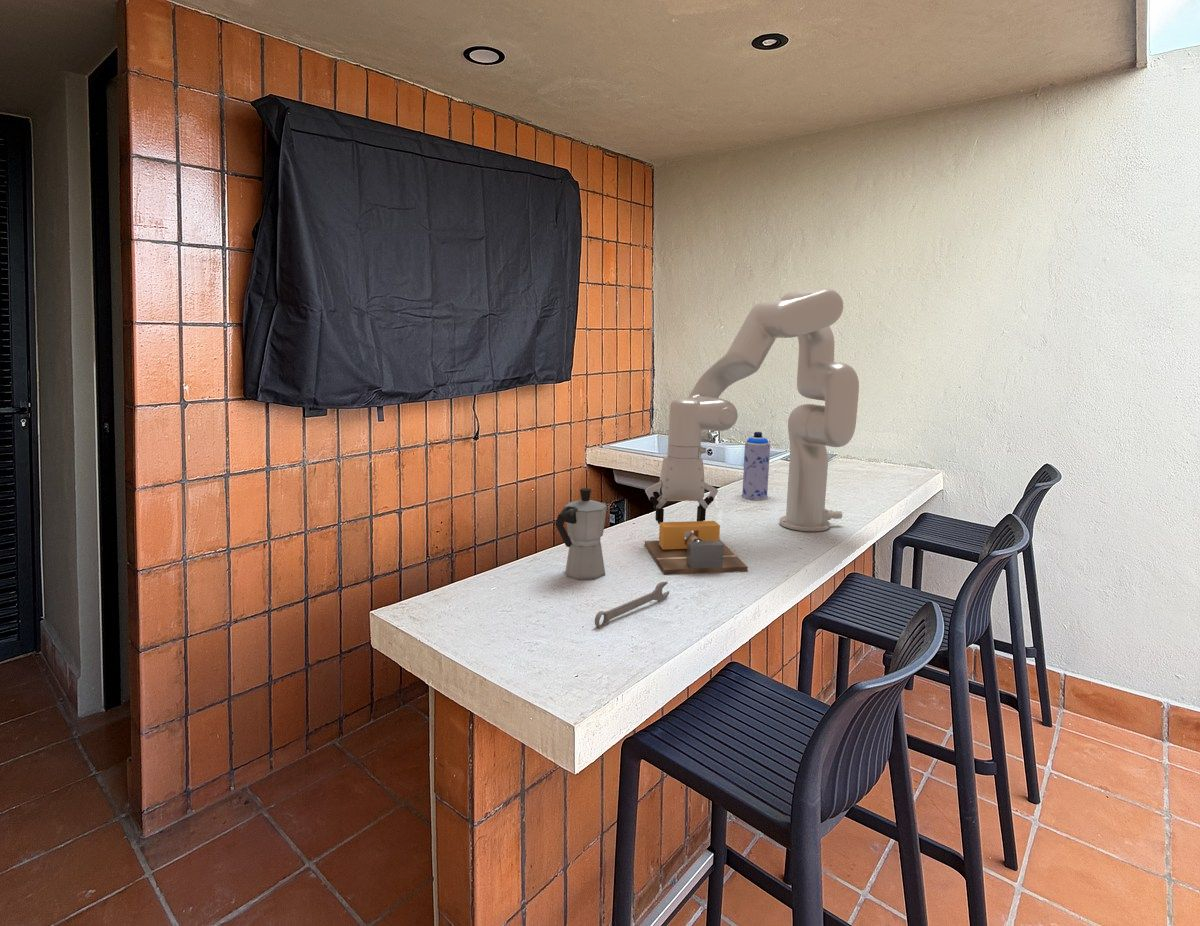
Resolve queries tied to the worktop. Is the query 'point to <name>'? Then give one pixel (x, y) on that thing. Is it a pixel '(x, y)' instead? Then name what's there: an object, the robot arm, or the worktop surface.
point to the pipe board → (676, 559)
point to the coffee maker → (583, 536)
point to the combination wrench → (632, 605)
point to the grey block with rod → (703, 552)
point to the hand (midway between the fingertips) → (680, 523)
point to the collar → (675, 533)
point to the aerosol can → (756, 468)
